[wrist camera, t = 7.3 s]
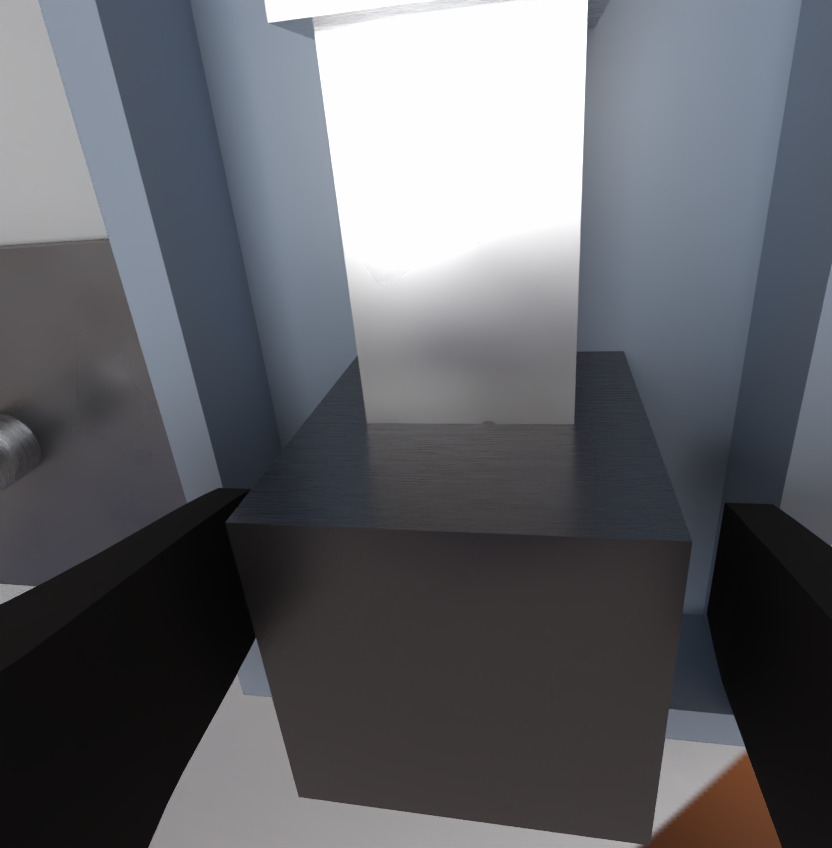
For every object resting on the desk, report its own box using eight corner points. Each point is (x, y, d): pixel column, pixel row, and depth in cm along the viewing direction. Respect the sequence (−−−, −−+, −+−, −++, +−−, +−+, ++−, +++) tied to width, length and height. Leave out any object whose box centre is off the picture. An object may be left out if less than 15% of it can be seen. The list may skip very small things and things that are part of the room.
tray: (731, 628, 14) (776, 749, 11) (293, 599, 16) (243, 694, 13) (925, -390, 7) (1163, -709, 4) (114, -202, 9) (-61, -336, 6)
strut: (608, 570, 13) (650, 845, 8) (384, 559, 14) (298, 797, 9) (651, -67, 8) (817, -349, 3) (307, -15, 9) (37, -173, 4)
